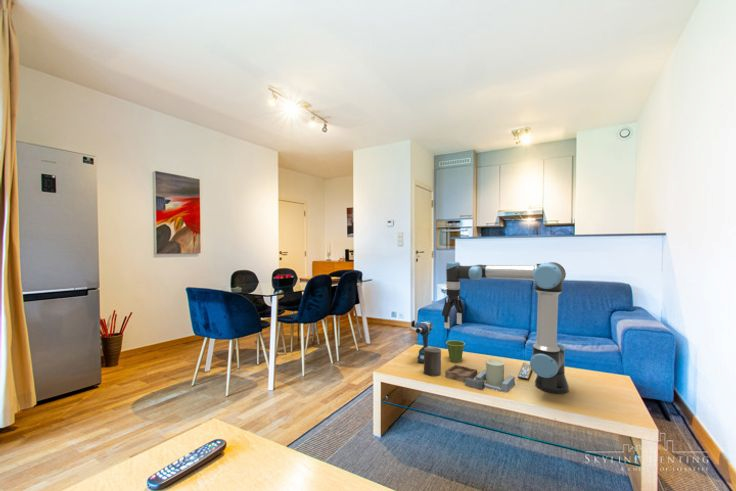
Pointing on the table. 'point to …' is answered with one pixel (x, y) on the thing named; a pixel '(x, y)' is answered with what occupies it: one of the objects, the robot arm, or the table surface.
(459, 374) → the tray
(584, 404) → the table surface
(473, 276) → the robot arm
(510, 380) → the socket block
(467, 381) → the grey t-shaped block
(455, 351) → the plant pot
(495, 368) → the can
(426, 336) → the impact wrench
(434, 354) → the pillar candle
